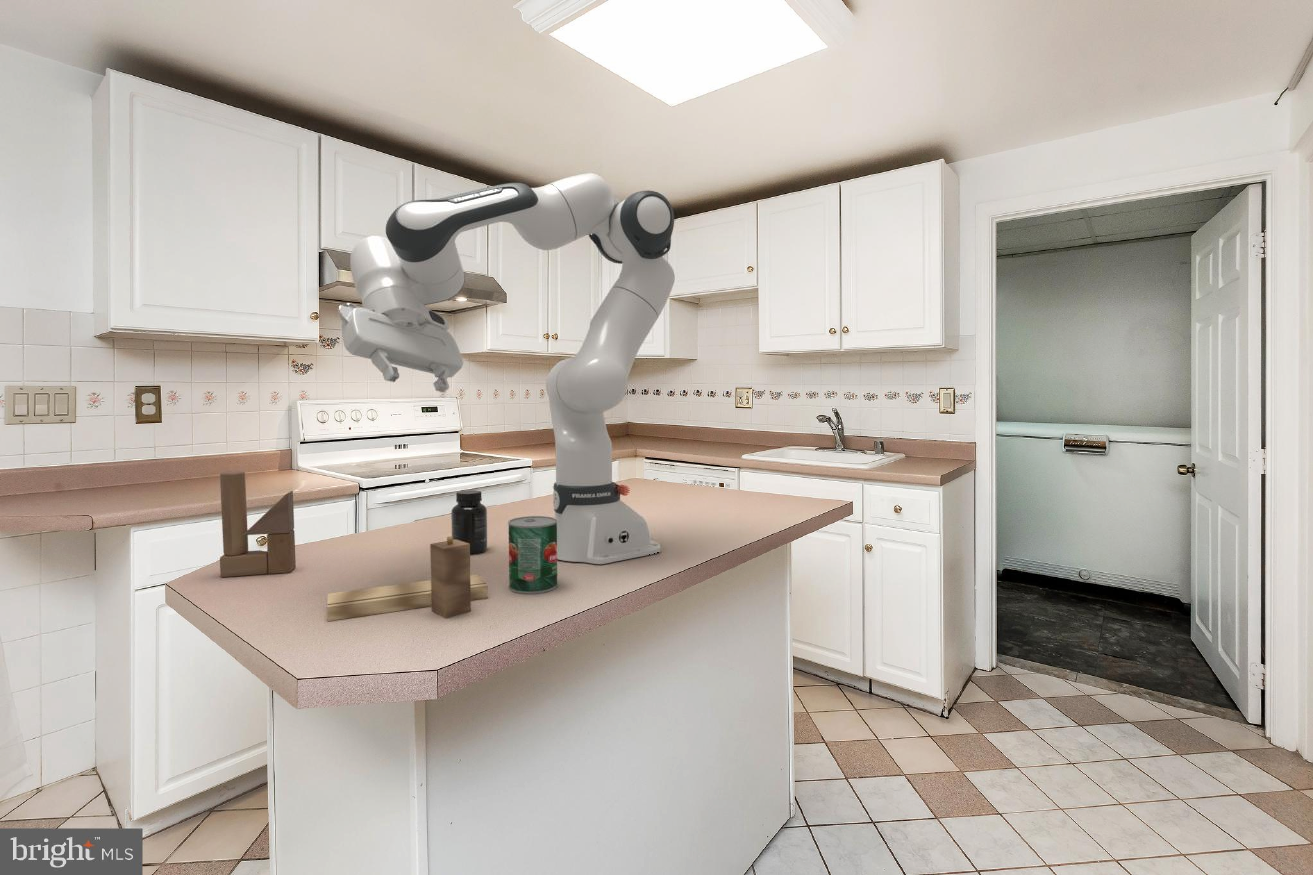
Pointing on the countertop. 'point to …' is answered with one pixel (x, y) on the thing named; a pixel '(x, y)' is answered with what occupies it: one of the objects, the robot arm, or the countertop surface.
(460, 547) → the block
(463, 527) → the supplement bottle
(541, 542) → the canned tomato
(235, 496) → the wooden block structure
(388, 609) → the board
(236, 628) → the countertop surface
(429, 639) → the countertop surface
